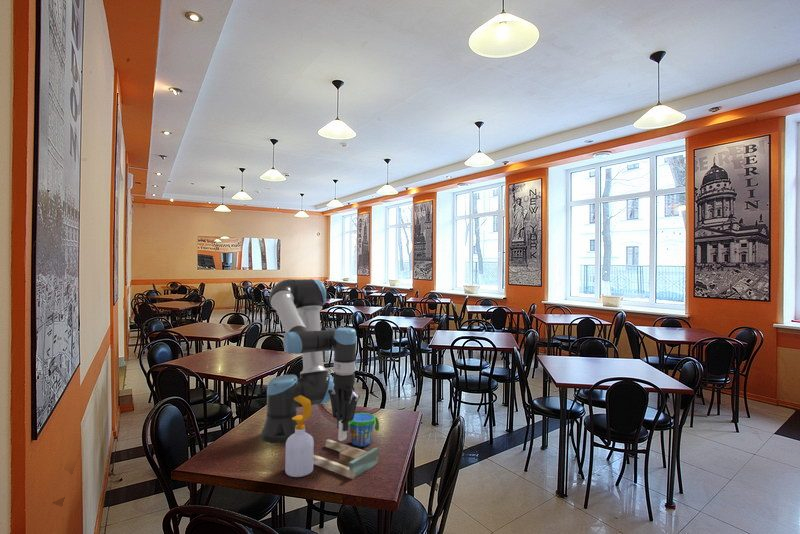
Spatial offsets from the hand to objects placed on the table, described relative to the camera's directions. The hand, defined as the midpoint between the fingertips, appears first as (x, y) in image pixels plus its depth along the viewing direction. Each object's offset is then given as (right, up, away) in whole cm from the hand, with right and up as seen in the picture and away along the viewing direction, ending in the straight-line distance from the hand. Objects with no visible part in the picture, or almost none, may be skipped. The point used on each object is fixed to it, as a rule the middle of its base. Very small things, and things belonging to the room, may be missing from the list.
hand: (342, 439), depth 144 cm
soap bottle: (-13, -8, -7) cm, 17 cm away
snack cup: (+5, -8, +15) cm, 18 cm away
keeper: (+4, -8, -3) cm, 9 cm away
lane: (-1, -8, 0) cm, 8 cm away
